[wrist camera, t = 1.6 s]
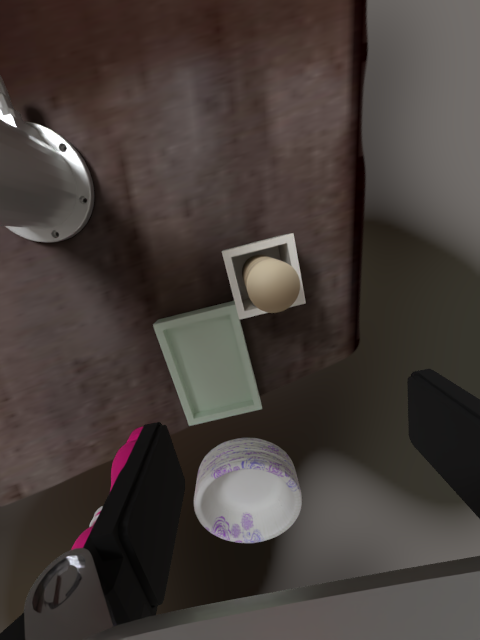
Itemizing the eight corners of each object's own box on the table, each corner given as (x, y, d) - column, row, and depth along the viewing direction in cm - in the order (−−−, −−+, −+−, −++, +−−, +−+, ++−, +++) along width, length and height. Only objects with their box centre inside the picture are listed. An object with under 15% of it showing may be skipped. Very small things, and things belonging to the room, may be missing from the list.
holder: (223, 250, 34) (221, 251, 27) (280, 235, 33) (293, 233, 27) (237, 305, 36) (239, 319, 29) (291, 292, 36) (305, 303, 29)
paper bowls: (206, 500, 46) (201, 552, 38) (193, 427, 41) (185, 469, 34) (292, 491, 46) (304, 541, 38) (289, 418, 41) (302, 457, 34)
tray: (157, 319, 36) (152, 325, 34) (235, 300, 36) (235, 304, 33) (191, 415, 41) (189, 425, 38) (260, 399, 40) (262, 409, 38)
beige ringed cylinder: (238, 259, 33) (241, 267, 22) (272, 250, 33) (294, 254, 21) (246, 293, 34) (254, 318, 23) (279, 285, 34) (304, 305, 23)
